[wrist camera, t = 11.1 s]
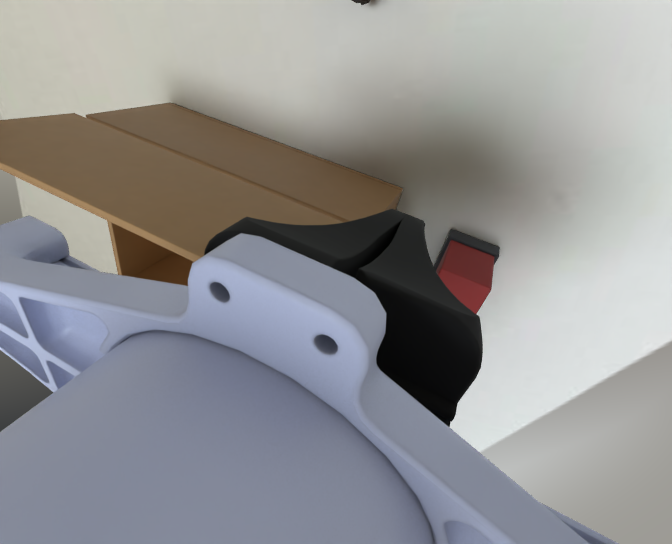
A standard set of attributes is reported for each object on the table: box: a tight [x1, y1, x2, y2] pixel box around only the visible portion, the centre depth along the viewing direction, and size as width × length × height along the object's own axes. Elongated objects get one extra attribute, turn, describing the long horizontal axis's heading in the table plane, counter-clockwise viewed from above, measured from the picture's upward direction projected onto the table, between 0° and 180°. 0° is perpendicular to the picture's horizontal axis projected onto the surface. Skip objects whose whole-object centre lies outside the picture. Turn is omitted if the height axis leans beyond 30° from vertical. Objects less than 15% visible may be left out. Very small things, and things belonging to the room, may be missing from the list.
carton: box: [86, 103, 403, 286], centre depth 25 cm, size 18×13×6 cm
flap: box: [0, 113, 344, 262], centre depth 15 cm, size 18×6×1 cm
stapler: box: [434, 229, 500, 314], centre depth 22 cm, size 10×3×5 cm, turn 168°
